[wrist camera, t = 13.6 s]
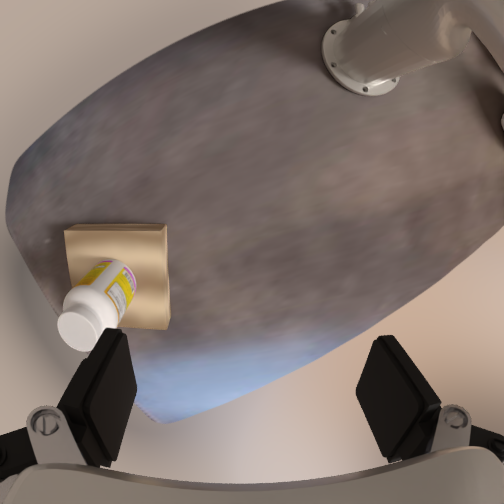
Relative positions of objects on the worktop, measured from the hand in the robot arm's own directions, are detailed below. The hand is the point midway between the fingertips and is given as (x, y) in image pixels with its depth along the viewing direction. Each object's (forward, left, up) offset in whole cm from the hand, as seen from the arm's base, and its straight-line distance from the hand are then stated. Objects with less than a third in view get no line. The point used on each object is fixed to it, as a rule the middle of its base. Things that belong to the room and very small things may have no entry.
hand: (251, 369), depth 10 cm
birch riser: (+9, -16, -31) cm, 35 cm away
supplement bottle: (+8, -16, -27) cm, 32 cm away
